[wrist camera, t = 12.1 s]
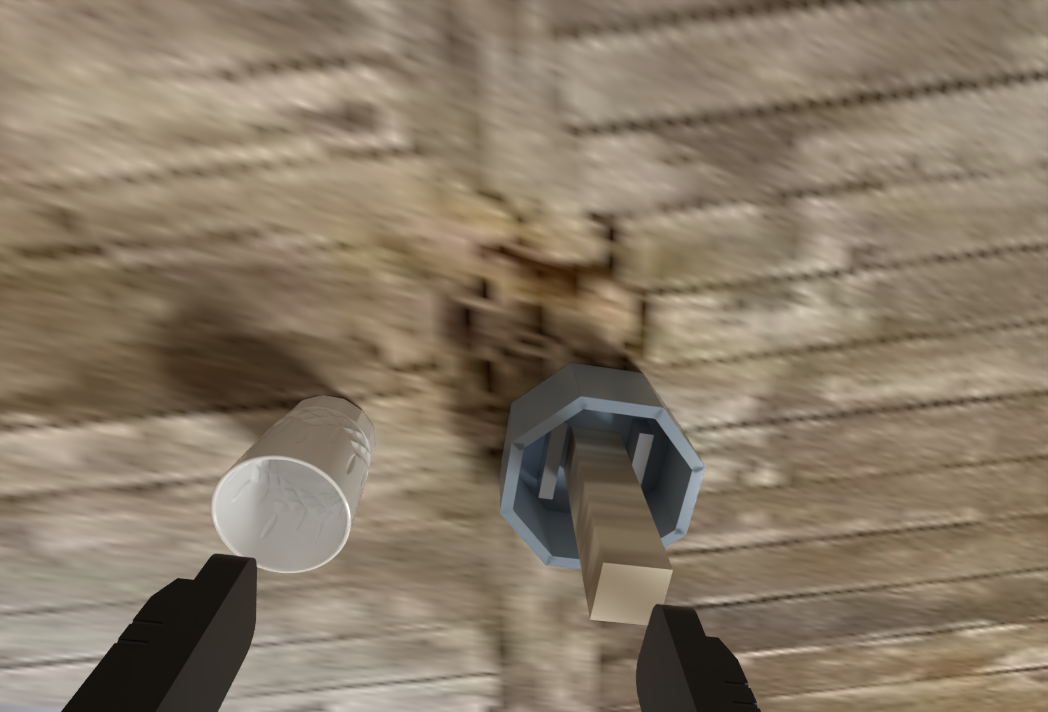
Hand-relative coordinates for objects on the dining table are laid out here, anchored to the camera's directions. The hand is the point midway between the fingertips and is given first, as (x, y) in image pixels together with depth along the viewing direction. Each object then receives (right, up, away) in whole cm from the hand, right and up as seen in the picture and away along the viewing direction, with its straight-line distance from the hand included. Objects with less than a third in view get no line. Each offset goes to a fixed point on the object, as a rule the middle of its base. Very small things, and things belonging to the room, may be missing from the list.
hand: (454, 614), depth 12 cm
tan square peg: (+6, -2, +32) cm, 33 cm away
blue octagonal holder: (+6, -2, +33) cm, 33 cm away
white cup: (-13, -1, +32) cm, 34 cm away
